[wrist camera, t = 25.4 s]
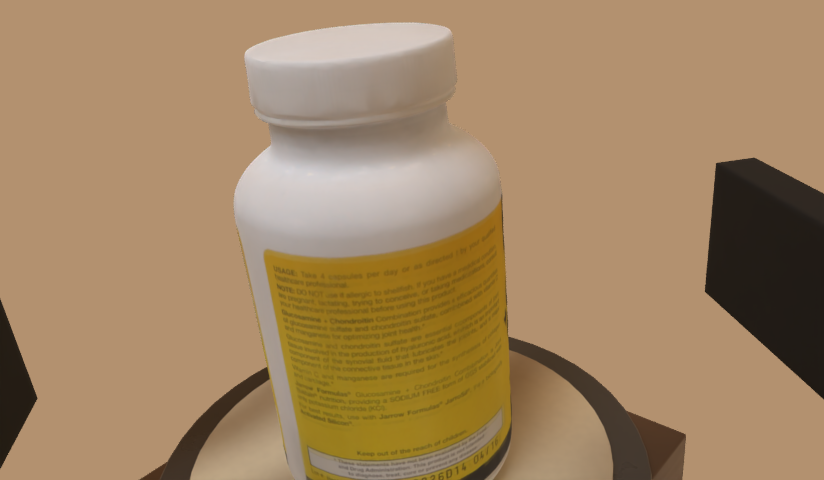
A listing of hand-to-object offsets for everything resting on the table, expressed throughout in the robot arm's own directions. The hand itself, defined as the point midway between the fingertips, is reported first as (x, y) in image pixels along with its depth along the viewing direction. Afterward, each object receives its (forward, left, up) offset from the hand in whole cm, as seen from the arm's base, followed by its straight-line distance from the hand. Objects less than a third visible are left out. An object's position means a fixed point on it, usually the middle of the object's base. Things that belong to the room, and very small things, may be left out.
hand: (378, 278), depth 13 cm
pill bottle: (-3, +3, -8) cm, 9 cm away
